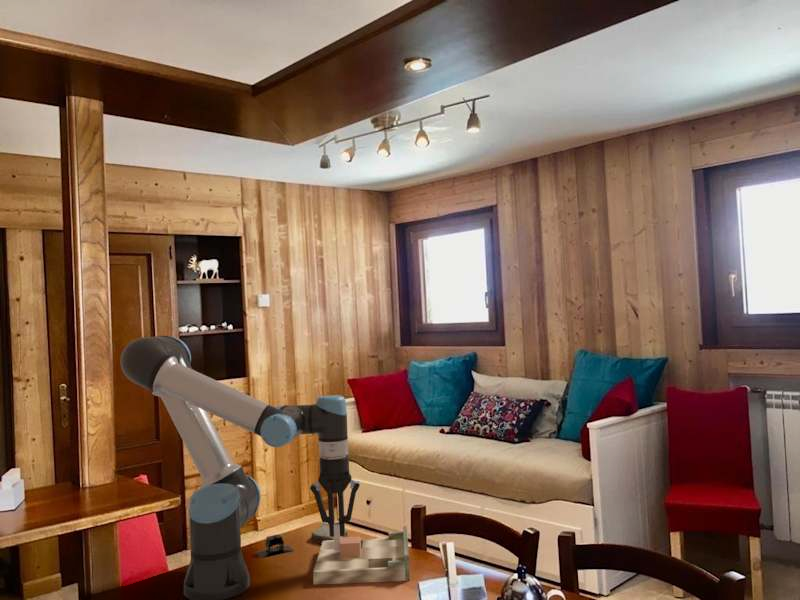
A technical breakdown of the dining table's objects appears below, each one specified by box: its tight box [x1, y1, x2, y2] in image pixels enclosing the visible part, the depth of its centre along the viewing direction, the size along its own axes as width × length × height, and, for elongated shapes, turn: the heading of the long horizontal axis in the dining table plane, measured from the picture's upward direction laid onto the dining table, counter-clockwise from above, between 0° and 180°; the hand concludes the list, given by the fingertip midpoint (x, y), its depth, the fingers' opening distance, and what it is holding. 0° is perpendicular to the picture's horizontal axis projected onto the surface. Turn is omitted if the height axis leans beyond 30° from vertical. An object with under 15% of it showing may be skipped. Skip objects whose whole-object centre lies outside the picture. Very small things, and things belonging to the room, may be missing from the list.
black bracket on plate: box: [255, 533, 295, 559], centre depth 180 cm, size 12×7×5 cm, turn 119°
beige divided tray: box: [312, 525, 411, 586], centre depth 168 cm, size 23×22×6 cm
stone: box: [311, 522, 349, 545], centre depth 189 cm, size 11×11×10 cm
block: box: [340, 536, 362, 558], centre depth 168 cm, size 5×5×4 cm
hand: (338, 548), depth 168 cm, fingers closed
